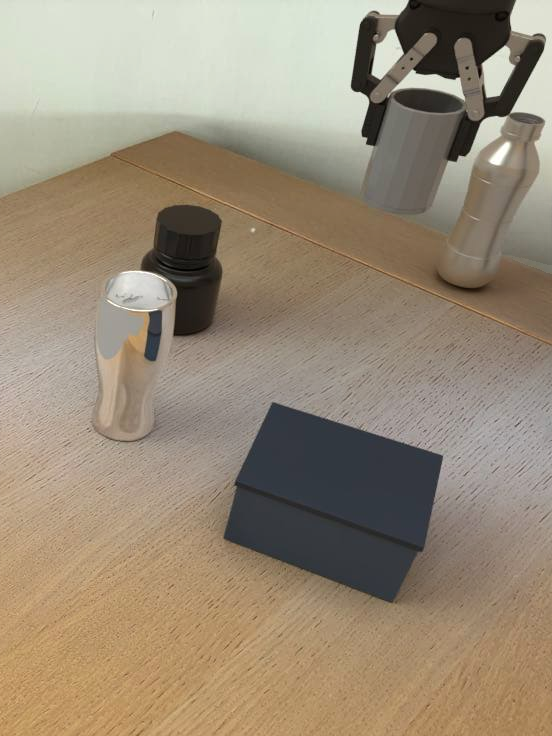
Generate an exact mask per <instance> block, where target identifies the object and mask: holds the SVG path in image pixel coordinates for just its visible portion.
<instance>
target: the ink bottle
mask: <svg viewBox="0 0 552 736" xmlns="http://www.w3.org/2000/svg"><path fill="white" fill-rule="evenodd" d="M222 225H223V220H222V219H221V218H220V215H219V214H217V213H216V212H214V211H213V210H211V209H210V208H206V207H202V206H200V205H192V204H173V205H170V206H167V207H164V208H163V209H161V210H160V211H158V213H157V216H156V220H155V228H154V235H153V243H152V247H153V248H152V249H150V250H148V251H147V252H146V253H145V254H144V256H143V257H142V259H141V262H140V267H139V270H141V271H148V272H152V273H156V274H158V275H161V276H163V277H165V278H166V279H168V280H169V281H171V282H172V283H173V285H174V286H175V288H176V290H177V298H176V313H175V325H174V333H173V335H184V334H193V333H196V332H199V331H201V330H204V329H205V328H208V327H209V326H210V325H211V324H212V323H213V321H214V319H215V315H216V309H217V304H218V300H219V294H220V289H221V284H222V279H223V271H224V270H223V266H222V263H221V261H220V260H219V258H218V257H216V255H217V251H218V244H219V239H220V234H221V229H222Z"/></svg>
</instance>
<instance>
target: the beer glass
mask: <svg viewBox="0 0 552 736" xmlns="http://www.w3.org/2000/svg"><path fill="white" fill-rule="evenodd" d="M176 298H177V290H176V288H175V286H174V285H173V283H172V282H171V281H169V280H168V279H166V278H165V277H163V276H161V275H158V274H156V273H152V272H148V271H141V270H140V269H128V270H122V271H117V272H115V273H112V274H110V275H108V276H107V277H106V278H104V280H103V281H102V282H101V284H100V292H99V297H98V303H97V306H96V307H97V308H96V313H95V322H94V332H93V333H94V335H93V342H94V343H93V344H94V355H95V363H96V364H95V365H96V366H95V367H96V373H97V382H98V383H97V384H98V386H97V387H98V389H97V396H96V398H95V401H94V402H95V403H94V405H93V408H92V412H91V422H92V426H93V427H94V428H95V430H96V431H97V432H98V433H100V434H101V435H103V436H104V437H106V438H108V439H110V440H115V441H121V442H131V441H137V440H141V439H142V438H144V437H146V436H148V435H149V434H151V432H152V431H153V429H154V426H155V408H154V407H155V406H154V401H155V400H154V399H155V393H156V390H157V388H158V387H157V386H158V385H159V381H160V379H161V376H162V374H163V371H164V368H165V366H166V363H167V361H168V358H169V355H170V352H171V351H170V350H171V348H172V343H173V338H174V334H173V333H174V325H175V313H176Z"/></svg>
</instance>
